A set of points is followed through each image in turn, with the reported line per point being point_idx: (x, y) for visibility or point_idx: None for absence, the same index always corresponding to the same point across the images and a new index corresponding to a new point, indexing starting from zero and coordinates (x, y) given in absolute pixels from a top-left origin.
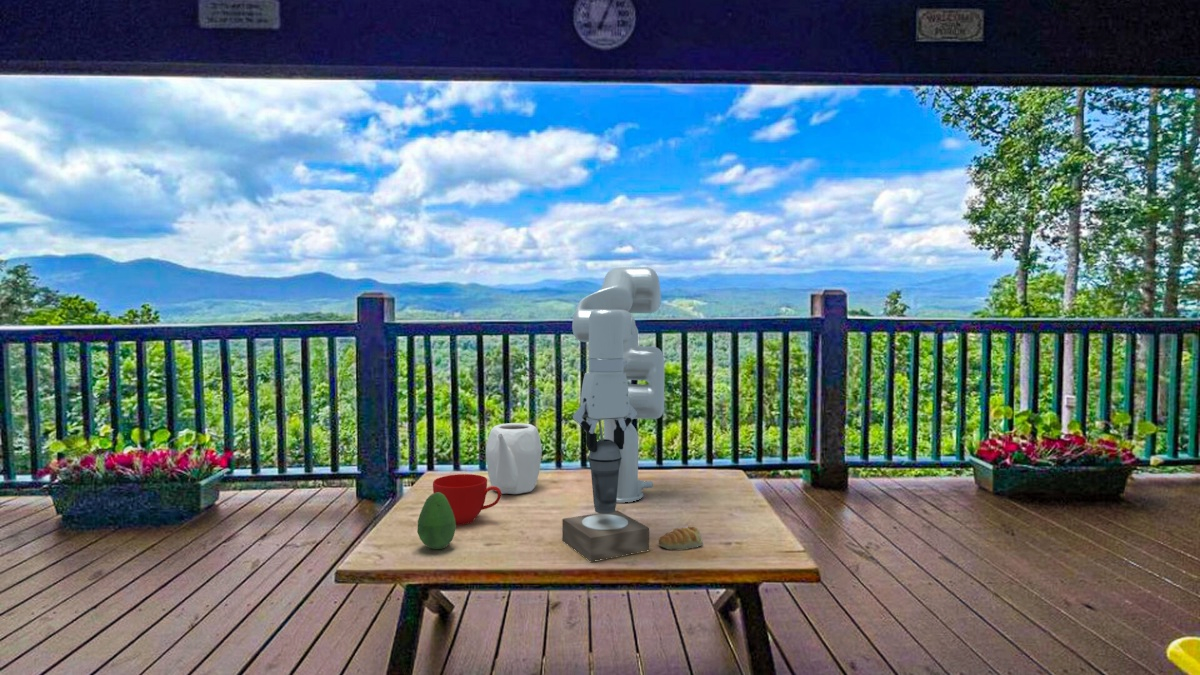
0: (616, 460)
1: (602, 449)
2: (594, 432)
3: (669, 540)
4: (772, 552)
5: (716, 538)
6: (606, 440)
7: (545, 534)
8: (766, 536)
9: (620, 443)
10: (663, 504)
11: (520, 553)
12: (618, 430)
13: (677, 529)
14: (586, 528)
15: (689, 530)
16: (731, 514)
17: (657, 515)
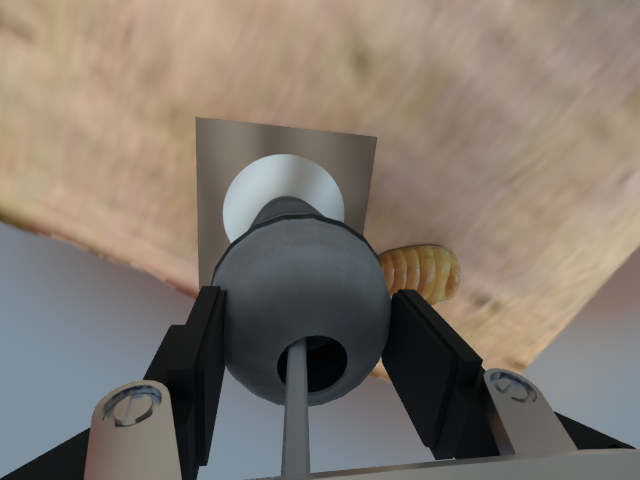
0: (315, 371)
1: (251, 392)
2: (191, 462)
3: None
4: (497, 358)
5: (486, 274)
6: (350, 321)
7: (186, 42)
8: (553, 305)
9: (395, 382)
10: (597, 10)
11: (73, 141)
12: (446, 422)
13: (426, 274)
14: (221, 227)
15: (437, 293)
16: (625, 178)
17: (515, 85)
